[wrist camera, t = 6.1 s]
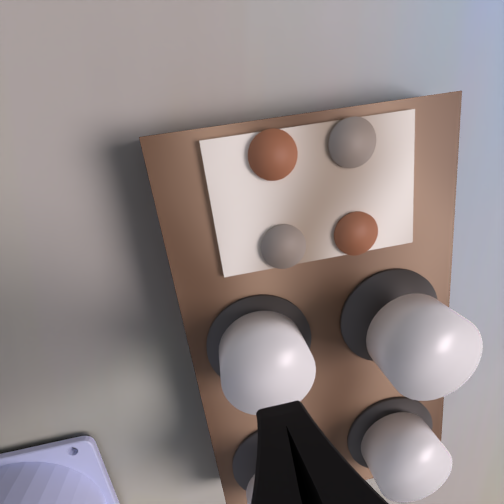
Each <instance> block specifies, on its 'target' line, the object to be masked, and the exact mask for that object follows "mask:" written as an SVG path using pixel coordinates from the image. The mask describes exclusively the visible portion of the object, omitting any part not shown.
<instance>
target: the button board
mask: <svg viewBox="0 0 504 504" xmlns="http://www.w3.org/2000/svg"><path fill="white" fill-rule="evenodd" d="M461 97H462V91H456V92H449V93H442V94H435V95H428V96H421V97H414V98H408V99H401V100H394V101H387V102H380V103H373V104H366V105H359V106H352V107H345V108H338V109H331V110H324V111H317V112H310V113H303V114H297V115H290V116H283V117H276V118H269V119H262V120H255V121H248V122H241V123H234V124H227V125H220V126H213V127H206V128H199V129H192V130H186V131H179V132H172V133H165V134H158V135H151V136H144V137H139V139H140V143H141V148H142V152H143V156H144V160H145V164H146V168H147V173H148V177H149V181H150V185H151V189H152V194H153V198H154V202H155V206H156V210H157V215H158V219H159V223H160V227H161V231H162V236H163V240H164V244H165V248H166V252H167V257H168V261H169V265H170V269H171V273H172V278H173V282H174V286H175V290H176V294H177V299H178V303H179V307H180V311H181V315H182V320H183V324H184V328H185V332H186V336H187V341H188V345H189V349H190V353H191V357H192V362H193V366H194V370H195V374H196V378H197V383H198V387H199V391H200V395H201V399H202V404H203V408H204V412H205V416H206V420H207V425H208V429H209V433H210V437H211V441H212V446H213V450H214V454H215V458H216V462H217V467H218V471H219V475H220V479H221V483H222V488H223V492H224V496H225V500H226V504H247V498H246V489H247V486H248V483H249V481H250V480H251V478H252V477H253V476H254V474H255V470H256V459H257V443H258V427H257V417H256V415H251V414H248V413H245V412H242V411H240V410H239V409H237V408H235V407H234V406H233V405H232V404H231V403H230V402H229V401H228V400H227V398H226V397H225V395H224V393H223V390H222V386H221V376H220V363H219V344H220V341H221V338H222V336H223V334H224V332H225V331H226V329H227V328H228V327H229V326H230V325H231V324H232V323H233V322H234V321H235V320H237V319H238V318H240V317H242V316H244V315H246V314H248V313H252V312H256V311H274V312H278V313H280V314H283V315H285V316H287V317H288V318H290V319H291V320H292V321H293V322H294V323H295V324H296V326H297V327H298V329H299V331H300V333H301V334H302V336H303V338H304V340H305V342H306V344H307V346H308V348H309V350H310V352H311V354H312V355H313V358H314V361H315V366H316V374H315V379H314V383H313V385H312V387H311V389H310V391H309V392H308V393H307V395H306V396H305V397H304V398H303V399H302V400H301V401H300V402H302V404H303V405H304V407H305V408H306V410H307V411H308V413H309V414H310V416H311V417H312V419H313V420H314V421H315V423H316V424H317V425H318V427H319V428H320V429H321V430H322V432H323V433H324V434H325V436H326V437H327V438H328V439H329V440H330V442H331V443H332V444H333V445H334V446H335V448H336V449H337V450H338V451H339V452H340V453H341V455H342V456H343V457H344V458H345V459H346V460H347V461H348V463H349V464H350V465H351V466H352V467H353V468H354V469H355V470H356V471H357V472H358V473H359V475H360V476H361V477H362V478H363V479H364V480H367V479H371V478H374V477H373V475H372V473H371V471H370V469H369V467H368V466H367V464H366V462H365V460H364V458H363V456H362V453H361V442H362V439H363V437H364V435H365V433H366V432H367V430H368V429H369V428H370V427H371V426H372V425H373V424H374V423H375V422H376V421H378V420H379V419H381V418H383V417H385V416H387V415H389V414H393V413H397V412H409V413H413V414H416V415H418V416H419V417H421V418H422V419H423V420H424V421H425V423H426V424H427V425H428V426H429V428H430V429H431V430H432V431H433V433H434V434H435V435H436V436H437V438H438V439H439V440H440V441H441V434H442V417H443V400H444V397H441V398H438V399H435V400H429V401H417V400H412V399H409V398H407V397H405V396H403V395H402V394H400V393H399V392H398V391H397V390H396V389H395V387H394V386H393V385H392V384H391V382H390V381H389V380H388V378H387V377H386V376H385V375H384V373H383V372H382V371H381V370H380V368H379V367H378V366H377V365H376V363H375V362H374V361H373V360H372V358H371V357H370V355H369V353H368V350H367V346H366V336H367V331H368V328H369V325H370V323H371V321H372V320H373V318H374V316H375V315H376V314H377V313H378V311H379V310H380V309H381V308H382V307H384V306H385V305H386V304H387V303H389V302H390V301H392V300H394V299H396V298H398V297H400V296H403V295H407V294H413V293H420V294H426V295H429V296H432V297H434V298H435V299H437V300H438V301H440V302H441V303H443V304H444V305H446V306H447V307H449V299H450V282H451V266H452V249H453V232H454V215H455V198H456V181H457V165H458V148H459V131H460V114H461Z"/></svg>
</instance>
